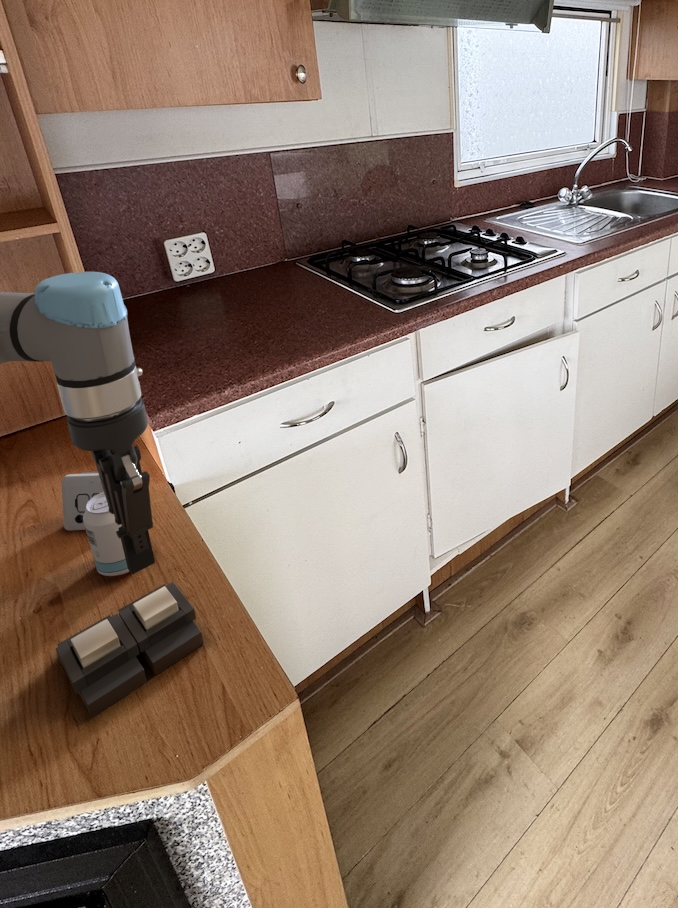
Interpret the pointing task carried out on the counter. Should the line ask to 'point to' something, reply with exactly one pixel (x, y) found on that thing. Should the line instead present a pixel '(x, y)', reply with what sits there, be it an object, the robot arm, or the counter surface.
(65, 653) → the near key block
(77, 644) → the c key
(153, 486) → the counter surface
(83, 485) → the electrical switch
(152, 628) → the far key block
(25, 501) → the counter surface
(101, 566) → the beverage can
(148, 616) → the e key
